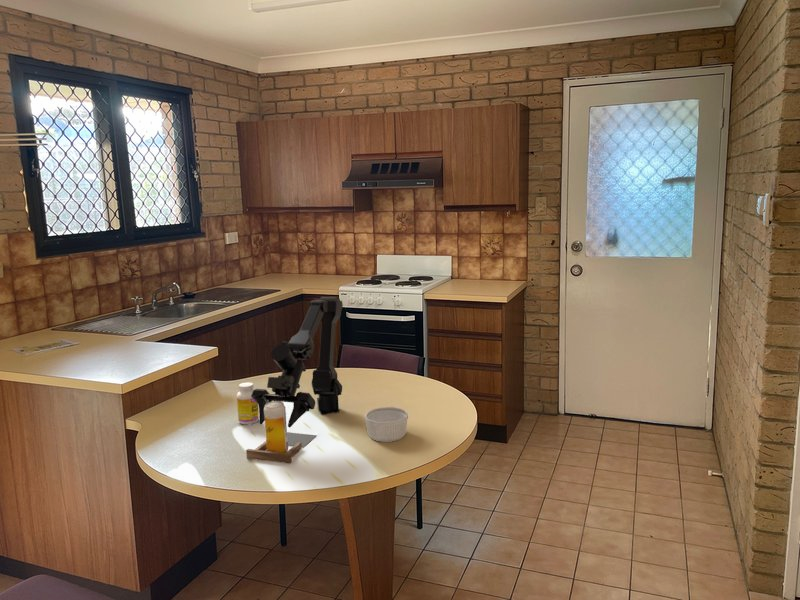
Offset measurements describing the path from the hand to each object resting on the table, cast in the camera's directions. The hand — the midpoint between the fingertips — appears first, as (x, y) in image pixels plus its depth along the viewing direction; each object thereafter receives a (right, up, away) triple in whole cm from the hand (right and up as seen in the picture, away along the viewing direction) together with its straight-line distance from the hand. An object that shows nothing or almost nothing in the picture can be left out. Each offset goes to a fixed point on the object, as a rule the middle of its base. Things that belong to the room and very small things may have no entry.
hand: (274, 425), depth 183 cm
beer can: (+1, -9, +2) cm, 9 cm away
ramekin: (+32, -6, +13) cm, 35 cm away
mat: (+4, -7, +11) cm, 14 cm away
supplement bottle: (-14, -4, +28) cm, 32 cm away
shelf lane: (+1, -8, +2) cm, 9 cm away
